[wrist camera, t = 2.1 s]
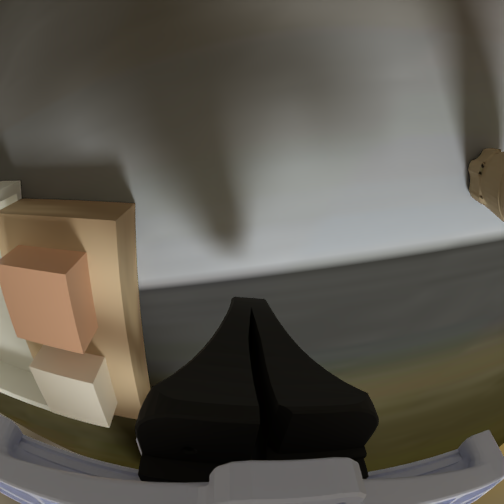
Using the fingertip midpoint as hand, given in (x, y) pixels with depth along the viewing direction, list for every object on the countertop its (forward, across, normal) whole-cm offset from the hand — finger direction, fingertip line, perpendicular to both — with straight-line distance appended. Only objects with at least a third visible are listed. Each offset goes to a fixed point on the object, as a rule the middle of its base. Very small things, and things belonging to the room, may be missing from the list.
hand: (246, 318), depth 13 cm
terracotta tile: (+1, +9, 0) cm, 9 cm away
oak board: (+3, +9, +3) cm, 10 cm away
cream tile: (+1, +9, +6) cm, 11 cm away
